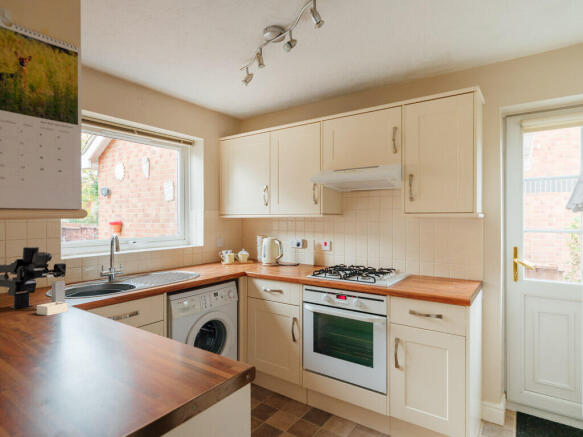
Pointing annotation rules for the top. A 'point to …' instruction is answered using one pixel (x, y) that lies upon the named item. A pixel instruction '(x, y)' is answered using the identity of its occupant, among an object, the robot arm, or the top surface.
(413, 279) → the top surface
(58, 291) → the grey rectangular block
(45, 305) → the cream square block
